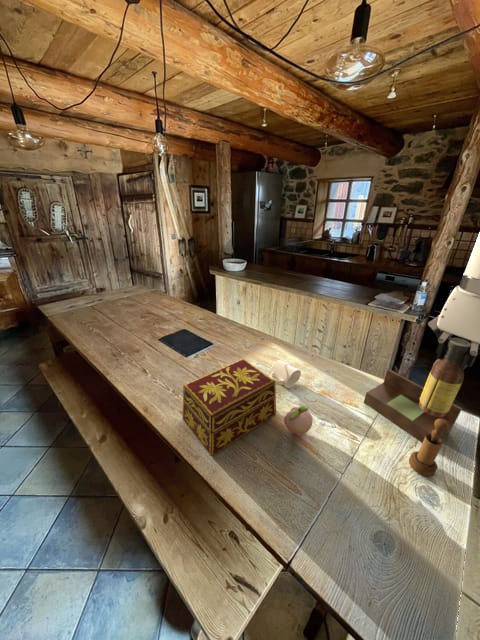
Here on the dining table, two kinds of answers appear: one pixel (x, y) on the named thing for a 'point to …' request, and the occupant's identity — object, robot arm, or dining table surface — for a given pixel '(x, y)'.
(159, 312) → the dining table surface
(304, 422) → the decorative fruit
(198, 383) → the decorative box
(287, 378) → the mug
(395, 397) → the shelf
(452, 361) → the sauce bottle
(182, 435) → the dining table surface
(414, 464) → the mortar and pestle
